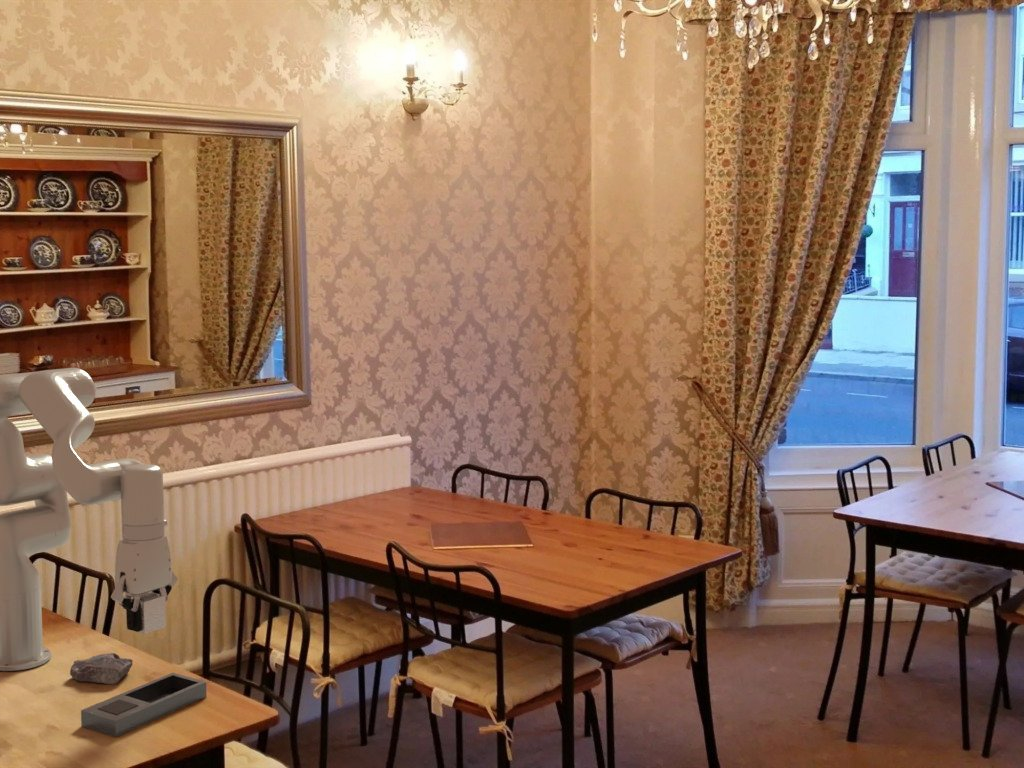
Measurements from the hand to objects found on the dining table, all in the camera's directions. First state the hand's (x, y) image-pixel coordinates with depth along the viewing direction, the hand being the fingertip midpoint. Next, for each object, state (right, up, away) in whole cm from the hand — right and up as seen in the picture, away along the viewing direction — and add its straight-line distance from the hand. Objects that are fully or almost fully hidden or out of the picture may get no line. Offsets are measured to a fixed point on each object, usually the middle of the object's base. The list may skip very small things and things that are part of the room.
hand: (146, 625), depth 219 cm
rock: (-13, -14, +16) cm, 25 cm away
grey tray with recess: (0, -16, 0) cm, 16 cm away
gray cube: (0, -1, 0) cm, 1 cm away
